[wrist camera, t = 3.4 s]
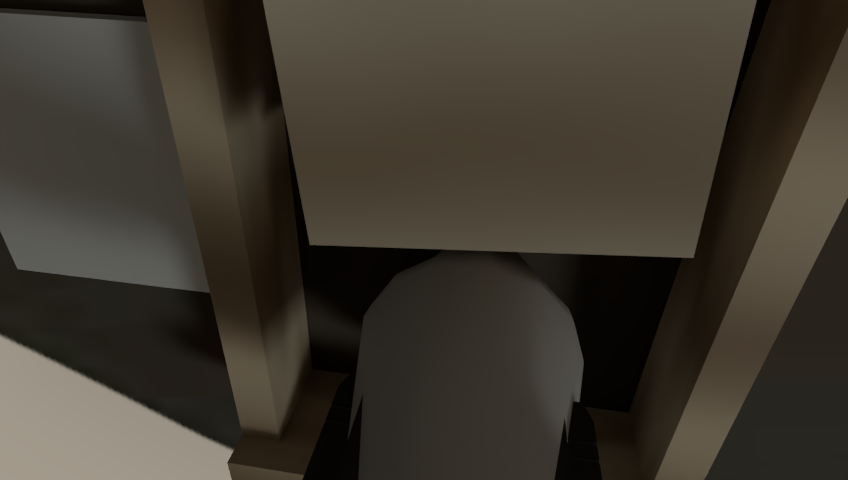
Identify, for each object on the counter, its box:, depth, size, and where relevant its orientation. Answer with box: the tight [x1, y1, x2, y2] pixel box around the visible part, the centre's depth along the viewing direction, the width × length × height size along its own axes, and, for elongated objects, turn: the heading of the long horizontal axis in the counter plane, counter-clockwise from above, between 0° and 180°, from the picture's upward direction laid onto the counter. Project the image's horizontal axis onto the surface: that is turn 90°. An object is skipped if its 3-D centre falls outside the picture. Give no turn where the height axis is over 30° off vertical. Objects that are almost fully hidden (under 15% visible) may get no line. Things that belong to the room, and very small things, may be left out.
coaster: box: [0, 8, 210, 293], centre depth 15 cm, size 8×8×1 cm
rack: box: [143, 0, 848, 480], centre depth 13 cm, size 15×13×4 cm
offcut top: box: [263, 0, 757, 258], centre depth 9 cm, size 4×6×3 cm, turn 93°
